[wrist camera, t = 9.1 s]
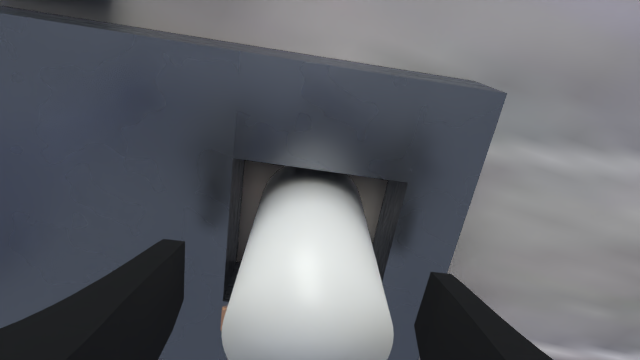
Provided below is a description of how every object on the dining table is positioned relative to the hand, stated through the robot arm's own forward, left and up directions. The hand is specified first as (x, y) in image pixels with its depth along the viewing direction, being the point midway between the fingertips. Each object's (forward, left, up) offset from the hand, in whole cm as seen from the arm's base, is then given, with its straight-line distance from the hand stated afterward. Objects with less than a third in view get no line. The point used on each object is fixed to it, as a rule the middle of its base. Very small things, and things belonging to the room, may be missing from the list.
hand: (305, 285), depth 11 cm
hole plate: (-3, 0, -5) cm, 5 cm away
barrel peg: (0, 0, -5) cm, 5 cm away
